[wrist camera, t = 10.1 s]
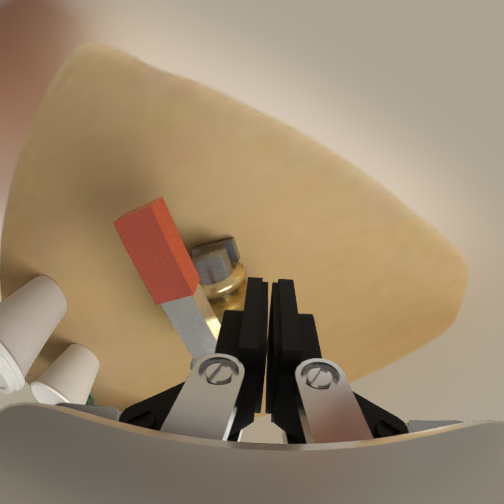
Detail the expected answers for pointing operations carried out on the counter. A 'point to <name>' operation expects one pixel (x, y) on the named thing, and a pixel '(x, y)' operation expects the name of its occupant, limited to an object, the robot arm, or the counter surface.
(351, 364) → the counter surface
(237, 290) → the valve body
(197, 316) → the lever
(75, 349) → the dixie cup
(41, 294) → the coffee cup
